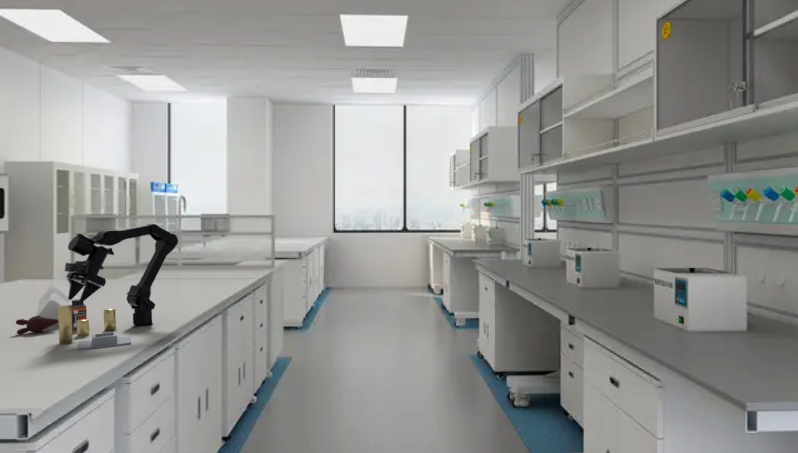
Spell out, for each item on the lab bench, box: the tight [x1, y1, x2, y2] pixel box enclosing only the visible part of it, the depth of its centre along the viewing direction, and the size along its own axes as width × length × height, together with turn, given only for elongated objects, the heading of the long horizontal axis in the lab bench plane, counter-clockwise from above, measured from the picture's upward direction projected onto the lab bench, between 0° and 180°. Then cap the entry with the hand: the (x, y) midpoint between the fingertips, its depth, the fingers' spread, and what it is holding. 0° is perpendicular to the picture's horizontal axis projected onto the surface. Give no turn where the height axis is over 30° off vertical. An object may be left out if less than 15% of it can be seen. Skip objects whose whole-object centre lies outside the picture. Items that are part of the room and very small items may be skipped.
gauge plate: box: [77, 331, 132, 351], centre depth 200 cm, size 16×12×3 cm
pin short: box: [76, 318, 90, 337], centre depth 215 cm, size 4×4×6 cm
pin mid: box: [103, 308, 117, 332], centre depth 223 cm, size 4×4×8 cm
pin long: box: [58, 305, 74, 345], centre depth 202 cm, size 4×4×13 cm
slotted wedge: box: [35, 280, 79, 325], centre depth 239 cm, size 14×11×18 cm
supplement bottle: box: [71, 298, 88, 331], centre depth 228 cm, size 6×6×11 cm
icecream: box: [15, 315, 59, 335], centre depth 222 cm, size 7×7×15 cm
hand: (75, 300), depth 212 cm, fingers open, 9 cm apart
